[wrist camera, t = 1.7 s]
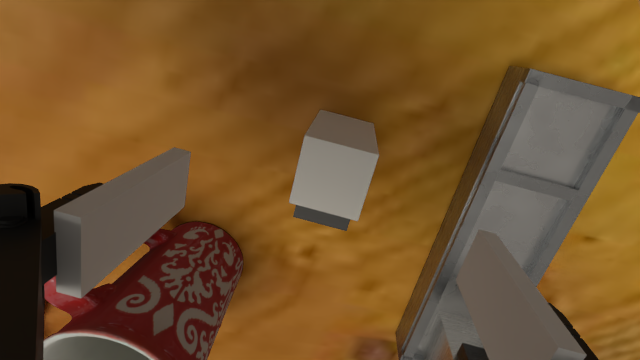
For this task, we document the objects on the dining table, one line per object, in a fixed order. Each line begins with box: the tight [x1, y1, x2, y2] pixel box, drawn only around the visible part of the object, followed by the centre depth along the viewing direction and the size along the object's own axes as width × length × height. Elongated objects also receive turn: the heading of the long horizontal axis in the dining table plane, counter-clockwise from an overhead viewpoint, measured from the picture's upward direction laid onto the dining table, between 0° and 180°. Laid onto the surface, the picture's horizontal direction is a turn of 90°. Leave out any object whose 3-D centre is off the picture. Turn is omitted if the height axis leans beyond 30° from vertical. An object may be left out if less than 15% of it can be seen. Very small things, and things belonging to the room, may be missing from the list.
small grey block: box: [289, 109, 379, 231], centre depth 23 cm, size 5×4×8 cm
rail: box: [396, 66, 640, 360], centre depth 23 cm, size 24×7×10 cm, turn 166°
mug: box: [43, 222, 243, 360], centre depth 25 cm, size 13×9×14 cm
